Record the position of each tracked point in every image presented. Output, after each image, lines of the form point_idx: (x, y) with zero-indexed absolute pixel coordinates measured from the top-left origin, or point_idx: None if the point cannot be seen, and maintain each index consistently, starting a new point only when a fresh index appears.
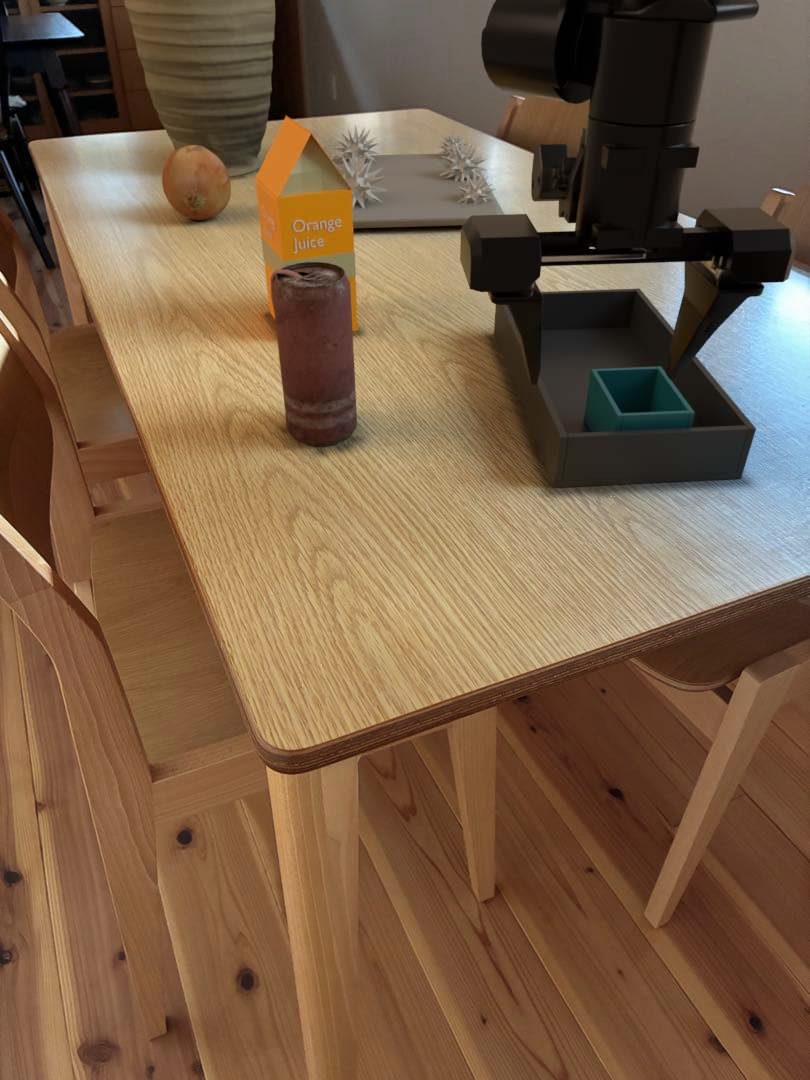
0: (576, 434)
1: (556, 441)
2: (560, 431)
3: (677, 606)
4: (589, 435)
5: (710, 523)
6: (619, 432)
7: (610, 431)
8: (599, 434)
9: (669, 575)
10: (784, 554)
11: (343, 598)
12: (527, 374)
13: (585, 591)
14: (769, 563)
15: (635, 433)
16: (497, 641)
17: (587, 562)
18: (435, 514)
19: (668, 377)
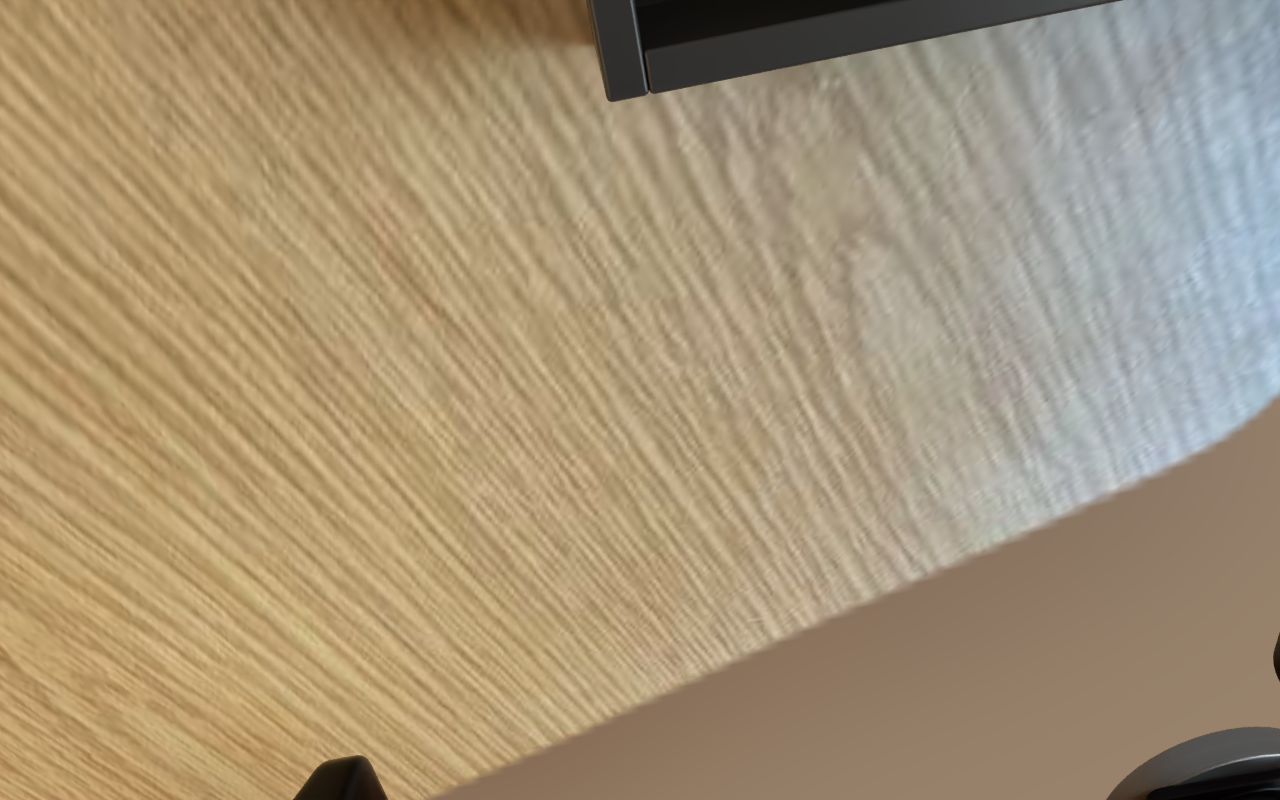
0: (696, 61)
1: (591, 20)
2: (609, 32)
3: (887, 569)
4: (766, 62)
5: (1132, 220)
6: (937, 11)
7: (890, 6)
8: (822, 46)
9: (904, 472)
10: (1275, 349)
11: (35, 653)
12: (306, 785)
13: (666, 553)
14: (1206, 392)
15: (1022, 12)
16: (455, 709)
17: (684, 451)
18: (146, 280)
19: (1278, 645)
